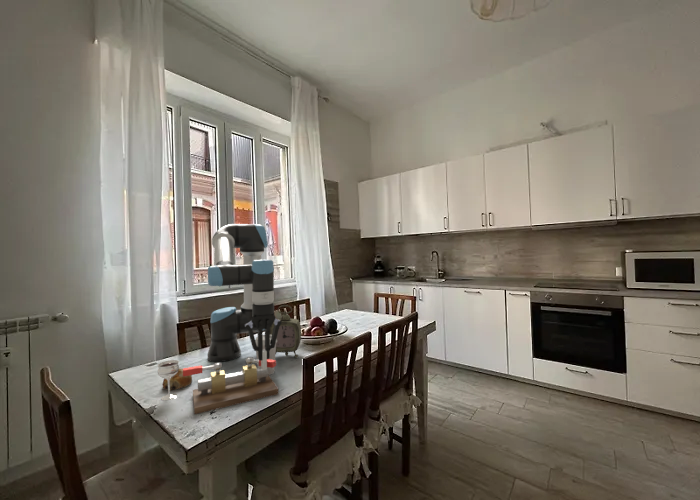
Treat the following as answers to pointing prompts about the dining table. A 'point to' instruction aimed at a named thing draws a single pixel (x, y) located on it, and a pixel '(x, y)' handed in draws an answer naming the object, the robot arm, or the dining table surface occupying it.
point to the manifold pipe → (231, 379)
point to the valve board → (233, 395)
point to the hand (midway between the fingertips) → (264, 368)
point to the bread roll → (178, 381)
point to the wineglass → (168, 375)
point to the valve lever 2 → (269, 362)
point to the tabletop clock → (287, 333)
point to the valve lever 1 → (200, 369)
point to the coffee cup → (271, 352)
